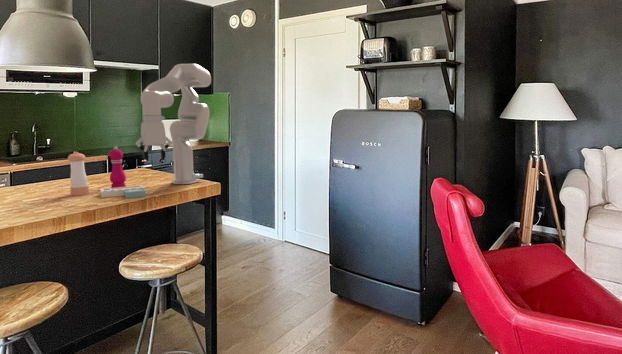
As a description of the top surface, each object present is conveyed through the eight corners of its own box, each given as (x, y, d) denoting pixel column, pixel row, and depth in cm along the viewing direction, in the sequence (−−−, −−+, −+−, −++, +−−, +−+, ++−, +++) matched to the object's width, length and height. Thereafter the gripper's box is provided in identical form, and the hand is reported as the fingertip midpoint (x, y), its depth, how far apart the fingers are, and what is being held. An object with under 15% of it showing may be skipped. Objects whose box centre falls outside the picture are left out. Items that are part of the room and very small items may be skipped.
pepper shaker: (76, 196, 194) (72, 153, 191) (67, 194, 198) (63, 152, 195) (92, 193, 200) (88, 151, 197) (83, 191, 204) (79, 150, 201)
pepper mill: (120, 189, 210) (117, 147, 207) (107, 188, 211) (103, 146, 208) (129, 186, 217) (126, 145, 214) (116, 185, 218) (113, 145, 215)
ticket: (142, 190, 207) (142, 185, 206) (145, 193, 201) (144, 187, 200) (100, 194, 198) (100, 188, 197) (101, 197, 192) (101, 191, 191)
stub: (143, 193, 199) (142, 188, 199) (145, 196, 194) (145, 190, 194) (124, 195, 195) (123, 189, 195) (126, 198, 190) (125, 192, 190)
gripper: (170, 118, 201) (172, 157, 204) (130, 119, 193) (133, 160, 196) (174, 119, 195) (176, 159, 198) (132, 120, 186) (135, 162, 189)
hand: (155, 159), depth 197 cm, fingers open, 6 cm apart
